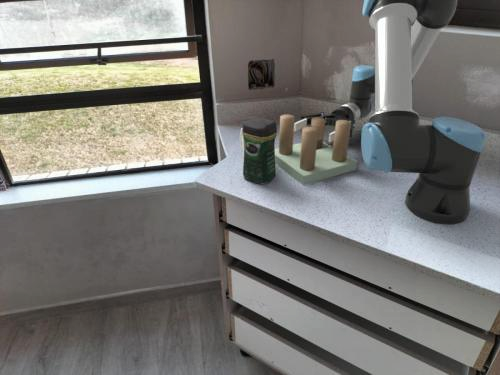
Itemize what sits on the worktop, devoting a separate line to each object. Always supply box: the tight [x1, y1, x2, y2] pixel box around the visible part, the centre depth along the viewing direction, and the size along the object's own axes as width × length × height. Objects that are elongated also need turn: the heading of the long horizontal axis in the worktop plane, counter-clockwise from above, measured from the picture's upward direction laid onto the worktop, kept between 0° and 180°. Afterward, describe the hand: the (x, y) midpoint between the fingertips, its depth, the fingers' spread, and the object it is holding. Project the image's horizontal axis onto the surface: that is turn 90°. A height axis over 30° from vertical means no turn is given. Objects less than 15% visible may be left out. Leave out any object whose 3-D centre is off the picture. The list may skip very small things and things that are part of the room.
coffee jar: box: [242, 115, 278, 185], centre depth 106 cm, size 10×8×19 cm
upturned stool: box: [275, 113, 358, 186], centre depth 115 cm, size 20×20×15 cm
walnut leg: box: [310, 117, 326, 150], centre depth 122 cm, size 4×4×12 cm
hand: (311, 132), depth 119 cm, fingers open, 13 cm apart
